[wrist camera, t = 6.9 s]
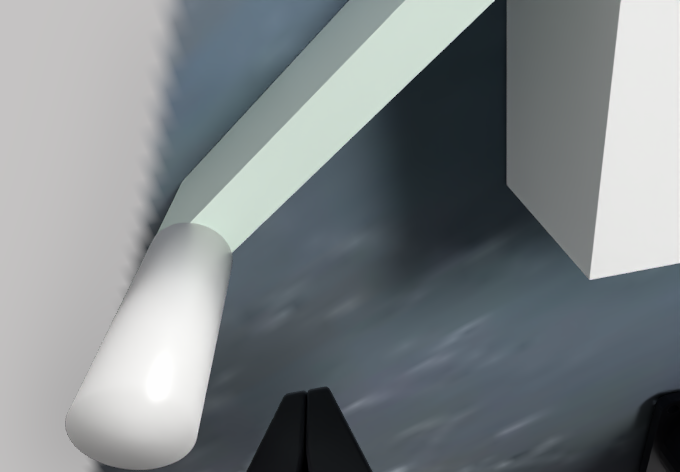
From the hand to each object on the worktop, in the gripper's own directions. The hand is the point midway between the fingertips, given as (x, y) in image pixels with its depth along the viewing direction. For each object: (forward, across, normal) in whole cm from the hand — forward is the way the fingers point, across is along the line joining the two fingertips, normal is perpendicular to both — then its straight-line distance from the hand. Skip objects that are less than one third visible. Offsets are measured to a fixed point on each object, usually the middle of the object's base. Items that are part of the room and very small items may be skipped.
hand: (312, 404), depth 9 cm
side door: (+7, -1, -5) cm, 8 cm away
